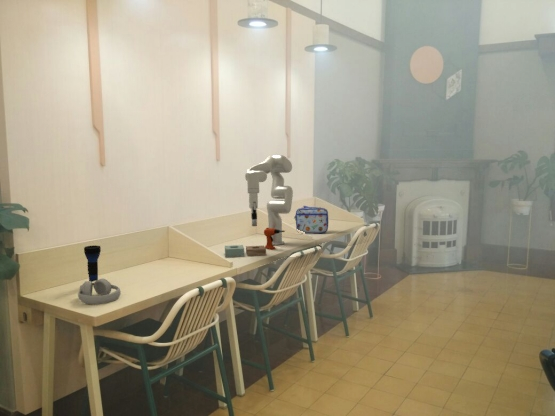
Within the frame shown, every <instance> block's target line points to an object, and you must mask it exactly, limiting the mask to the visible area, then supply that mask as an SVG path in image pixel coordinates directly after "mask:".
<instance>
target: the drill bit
mask: <svg viewBox="0 0 555 416" xmlns="http://www.w3.org/2000/svg"><path fill="white" fill-rule="evenodd" d="M257 226H258V218H257V219H252V218H251V227H257Z"/></svg>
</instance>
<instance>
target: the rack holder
mask: <svg viewBox="0 0 555 416" xmlns="http://www.w3.org/2000/svg"><path fill="white" fill-rule="evenodd" d="M224 257H225V258H229V257H230V258H231V257H233V258H235V257H236V258H237V257H245V248H244V244H238V245H237V244H235V245H224Z"/></svg>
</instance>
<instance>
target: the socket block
mask: <svg viewBox="0 0 555 416" xmlns="http://www.w3.org/2000/svg"><path fill="white" fill-rule="evenodd" d="M245 252H246V256H247V257H252V256H253V257H254V256H255V257H256V256H258V257H259V256H266V255H267V249H266V248H265V245H247V246H245Z"/></svg>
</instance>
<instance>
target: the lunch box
mask: <svg viewBox="0 0 555 416" xmlns="http://www.w3.org/2000/svg"><path fill="white" fill-rule="evenodd" d="M293 219H294V220H295V227H296V230H297V229H298V230H300V231H303V232H305V233H315V234H324V233H326V232H328V230H329V229H328V228H329V211H328V209H327V208H325V207H318V206H306V205H303V207H300V208H298V209H296V211H295V214H294V217H293Z"/></svg>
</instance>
